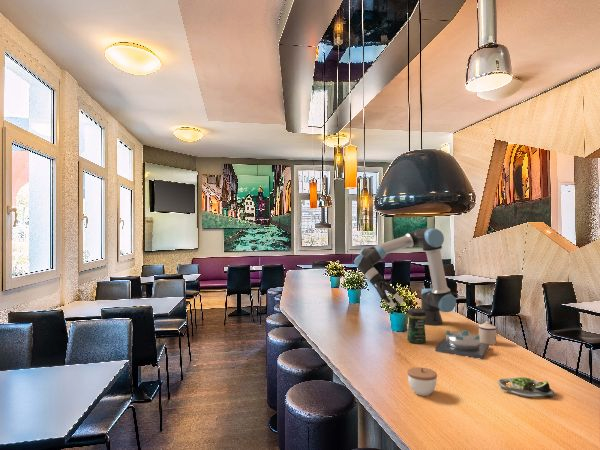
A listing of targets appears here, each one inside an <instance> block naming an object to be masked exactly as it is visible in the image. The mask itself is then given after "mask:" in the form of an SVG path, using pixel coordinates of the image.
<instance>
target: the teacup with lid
mask: <svg viewBox="0 0 600 450" xmlns="http://www.w3.org/2000/svg"><path fill="white" fill-rule="evenodd" d="M477 327H478V335H480V343H485V344H489V346H494V345H493V344H495V345H496V344H497V326H495V325H493V324H491V323H490V321H484V322H483V323H481V324H478V326H477Z"/></svg>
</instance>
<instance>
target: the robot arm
mask: <svg viewBox="0 0 600 450" xmlns="http://www.w3.org/2000/svg"><path fill="white" fill-rule="evenodd" d="M444 241H445V236H444V234H443V232H442V231H441V230H439V229H438V228H434V227H433V228H432V227H431V228H430V227H429V228H419V229H416V230H414V231H413V230H412V231H411V232H408V233H405V235H403V236H401V237H397V238H394V239H391V240H389V241H385V242H383V243H380V244H377V245H373V246H370V247H368V248H367V247H366V248H361V249H360V251H359V254H358V255H357V256H356V257H355V259H354V260H353V263H354V265H355V266H356V268H358V270H359V271H360V272H361V273H362V274H363V275H364V277H365V278H366V279H367V280H368V281H369V282H370V284H371V285H372V286H373V287H374V288H375V290H376V292H377V294H378V296H379V297H380V299H381V300H382V301H383V300H384V301H385V302H386V303H387V304H388V305H389V306H390V307H391V309H394V308H395V307H396V306H397V304H396V303H395V302H394V300H392V299H391V298H390V296H388V295H387V293H389V294H391V295H392V296H393V298H395V300H396V301H397V302H398V303H399V305H402V304H404V302H405V301H404V300H403V298H402V297H401V296H400V295H399V294H398V290H396V289H395V288H394V287H393V286H391V284H389V283H388V282H387V281H386V280H384V281H383V279H384V278H383V276H382V275H381V273H379V271H378V270H377V269H376V267H374V265H376V264H377V263H379V262H380V261H381V260H383V259H384V258H386V256H387V255H389V254H392V253H394V252H397V251H399V250H402V249H405V248H413V247H422V250H423V252H425V254H426V259H427V264H428V269H429V275H430V279H431V285H432V288H422V289H421V294H420V297H421V303H420V304H421V306H420V307H421V309H424V310H425V312H426V318H425V325H428V326H440V325H443V319H442V318H443V317H442V314H441V312H442V313H450V312H452V311H453V310H454V309H455V307H456V306H457V305H456V304H457V299H456V297H455V296H454V295H453V294H452V292H451V288H449V287H448V284H447V279H446V275H445V274H446V273H445V269H444V263H443V259H442V253H441V250H442V249H443V246H442V245H444V244H443V243H444Z"/></svg>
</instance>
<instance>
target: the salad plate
mask: <svg viewBox="0 0 600 450" xmlns="http://www.w3.org/2000/svg"><path fill="white" fill-rule="evenodd" d="M508 382H510V384H509V385H510V386H508V385H507V386H506V383H508ZM497 384H498V385H499V386H500V390H502V391H506V392H508V393H510V392H511V393H510V394H513V393H514V394H513V395H516V394H517V395H516V396H519V395H520V396H519V397H523V396H524V398H528V397H546V398H551V397H556V396H558V395H557V394H556V393H555V391H554V390H553V389H552V388H550V383H549V382H548V381H544V380H543V381H538V380H536V379H532V378H529V377H524V376H521V377H520V376H519V377H509V378H507V377H506V378H499V379H498V381H497ZM533 384H534V385H533Z"/></svg>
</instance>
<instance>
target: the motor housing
mask: <svg viewBox="0 0 600 450" xmlns="http://www.w3.org/2000/svg"><path fill="white" fill-rule="evenodd" d="M434 348H435V349H434V350H435V351H434V352H439V353H442V354H443V353H444V354H448V353H449V355H454V354H456V355H455V356H460V355H461V357H465V356H468V357H467V358H471V357H474V358H473V359H477V358H480V359H479V360H483V359H484V358H483V357H485V356H486V354H487V352H488V351H489V349H490V345H489V344H485V343H480V335H479V334H473V333H470V332H469V330H466V329H461V331H450V330H446V331H445V338H443V339H442V341H441V342H439V343H438V344H437V345H436V346H435V347H434ZM488 348H489V349H488ZM487 350H488V351H487ZM484 355H485V356H484Z"/></svg>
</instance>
